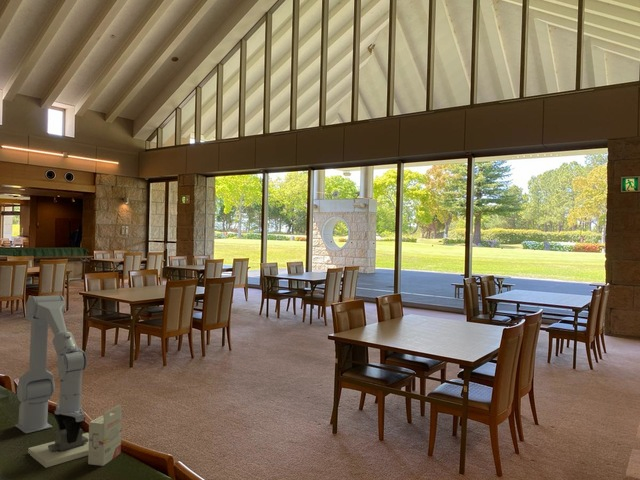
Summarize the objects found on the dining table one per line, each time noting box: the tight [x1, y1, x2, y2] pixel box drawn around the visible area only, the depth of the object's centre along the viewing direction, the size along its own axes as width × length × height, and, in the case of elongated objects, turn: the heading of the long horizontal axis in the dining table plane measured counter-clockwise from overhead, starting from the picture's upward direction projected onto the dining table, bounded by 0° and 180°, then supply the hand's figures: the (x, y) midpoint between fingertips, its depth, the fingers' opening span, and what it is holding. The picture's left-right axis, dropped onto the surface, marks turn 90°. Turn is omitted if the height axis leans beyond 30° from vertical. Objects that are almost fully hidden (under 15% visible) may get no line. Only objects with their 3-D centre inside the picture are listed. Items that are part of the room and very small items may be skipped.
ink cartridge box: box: [87, 403, 123, 467], centre depth 141 cm, size 9×5×15 cm, turn 168°
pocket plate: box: [27, 432, 89, 469], centre depth 145 cm, size 13×17×2 cm
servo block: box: [48, 427, 88, 452], centre depth 145 cm, size 4×10×7 cm, turn 139°
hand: (68, 440), depth 145 cm, fingers closed on servo block, 4 cm apart
